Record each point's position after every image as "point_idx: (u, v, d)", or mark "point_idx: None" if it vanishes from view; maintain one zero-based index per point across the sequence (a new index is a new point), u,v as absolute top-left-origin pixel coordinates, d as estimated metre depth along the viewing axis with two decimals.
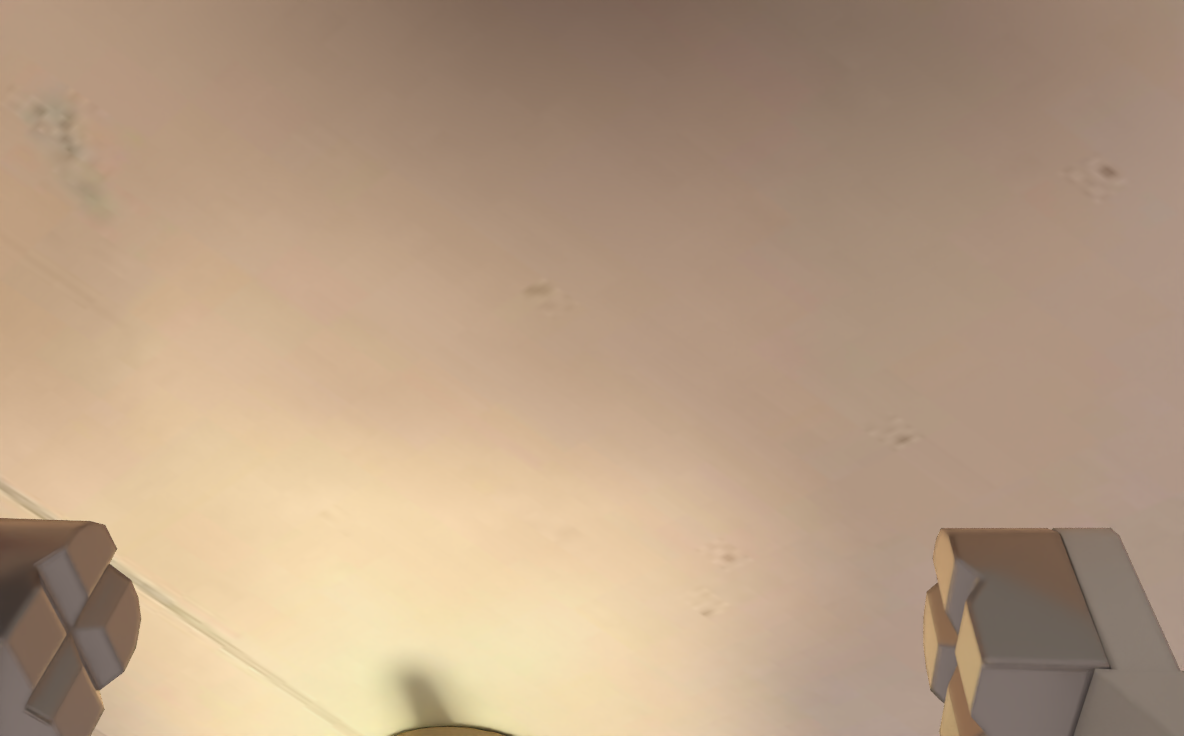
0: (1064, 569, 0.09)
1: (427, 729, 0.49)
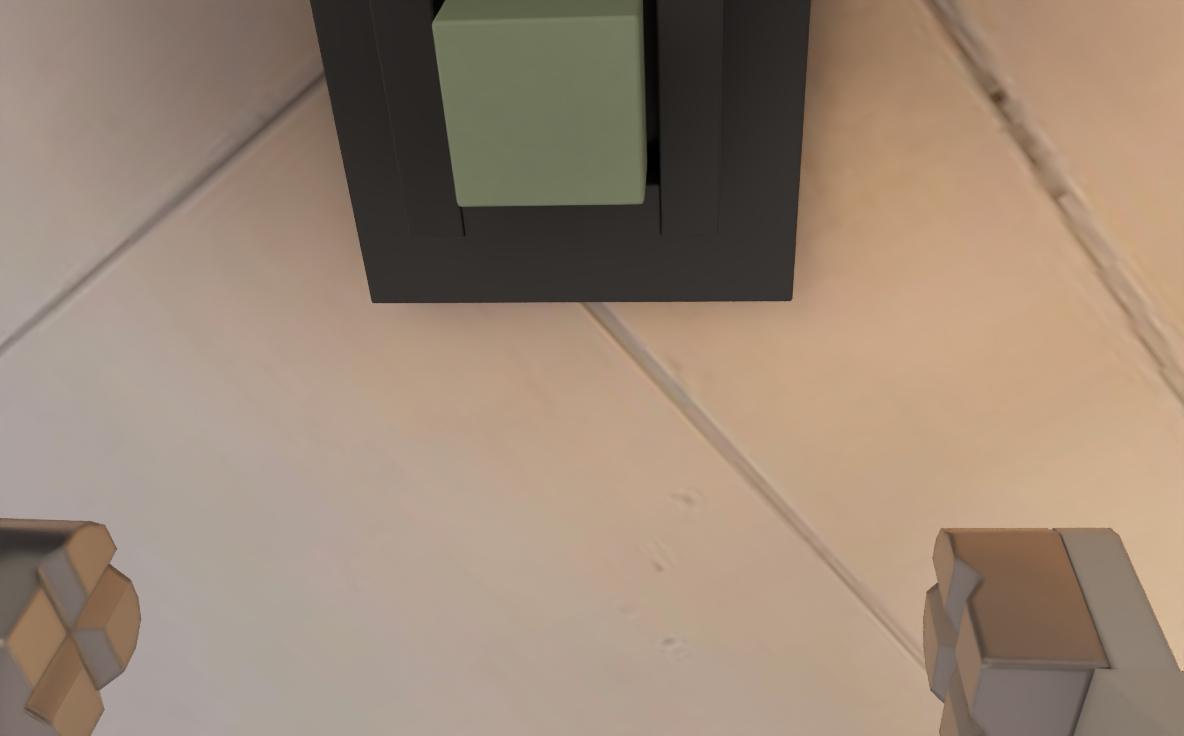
0: (1064, 569, 0.09)
1: None
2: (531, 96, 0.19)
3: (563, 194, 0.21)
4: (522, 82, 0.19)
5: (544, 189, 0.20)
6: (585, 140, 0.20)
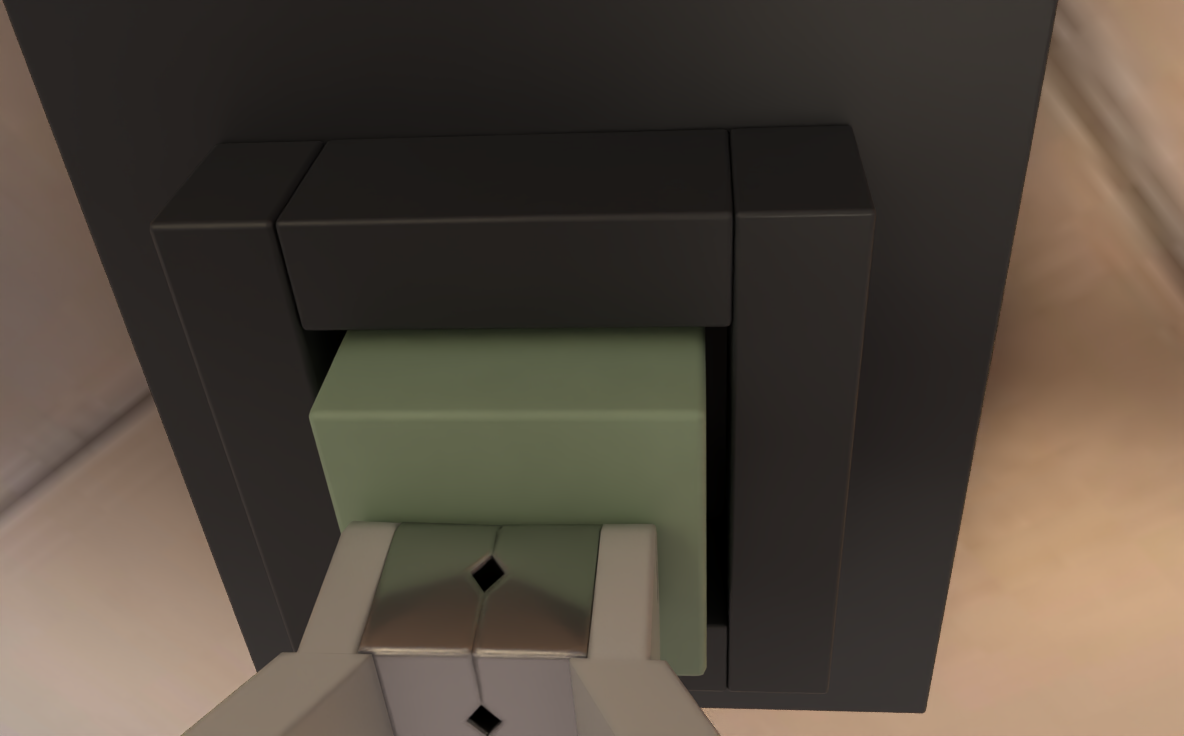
0: (588, 563, 0.09)
1: None
2: None
3: None
4: (484, 507, 0.10)
5: None
6: None
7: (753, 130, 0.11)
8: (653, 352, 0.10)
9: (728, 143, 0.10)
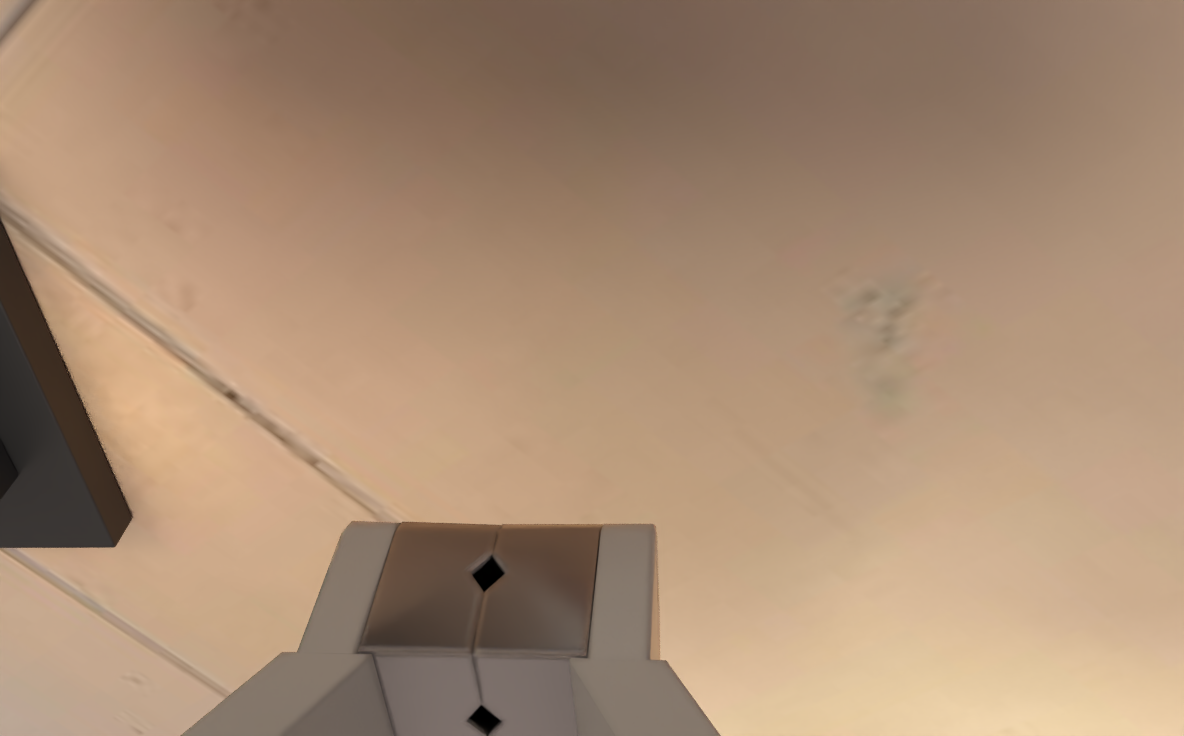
0: (588, 563, 0.09)
1: None
2: None
3: None
4: None
5: None
6: None
7: None
8: None
9: None
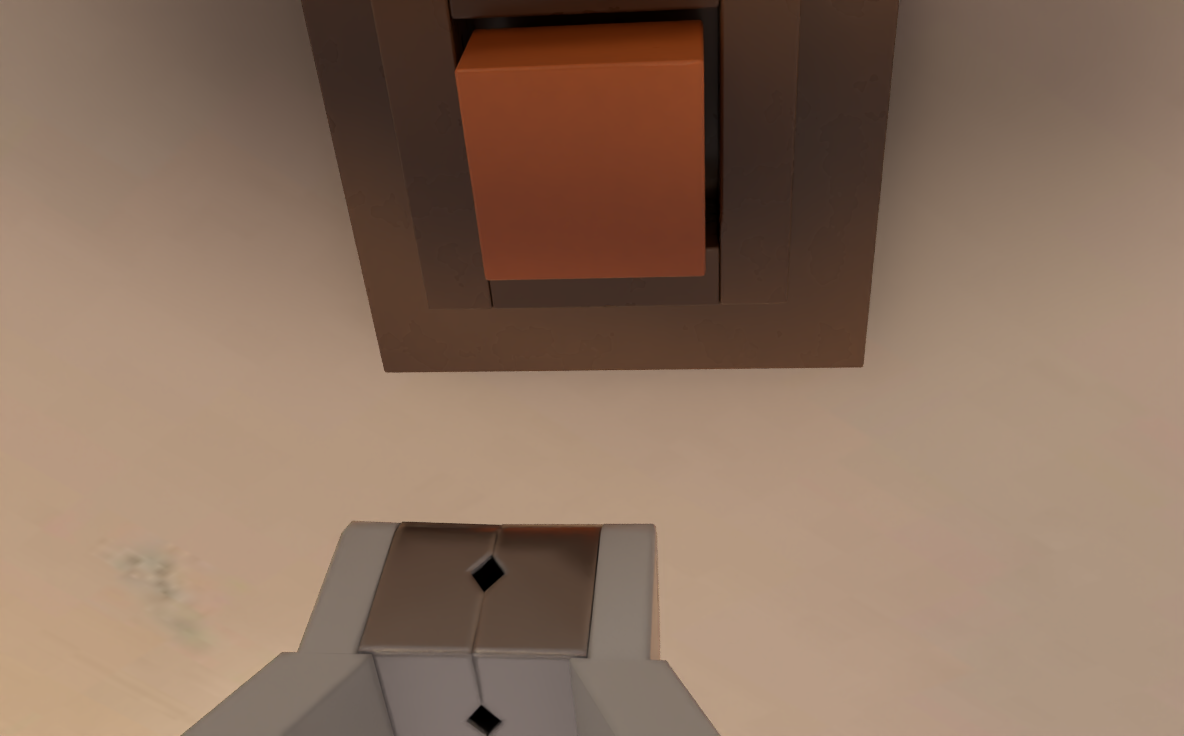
0: (588, 563, 0.09)
1: None
2: None
3: None
4: None
5: None
6: None
7: None
8: None
9: None
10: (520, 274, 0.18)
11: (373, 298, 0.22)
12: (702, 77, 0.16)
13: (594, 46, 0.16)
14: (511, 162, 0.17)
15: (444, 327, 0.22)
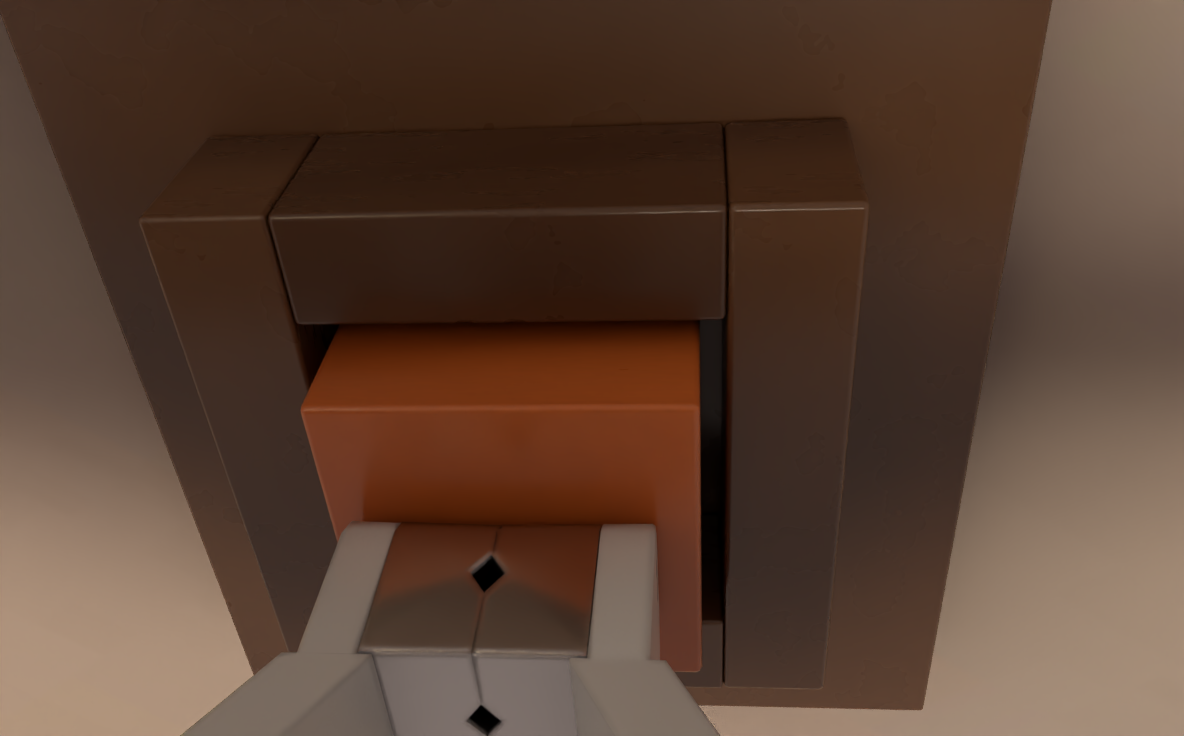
0: (587, 563, 0.09)
1: None
2: None
3: None
4: None
5: None
6: None
7: None
8: None
9: None
10: None
11: (236, 613, 0.16)
12: (698, 430, 0.10)
13: (527, 359, 0.10)
14: None
15: None
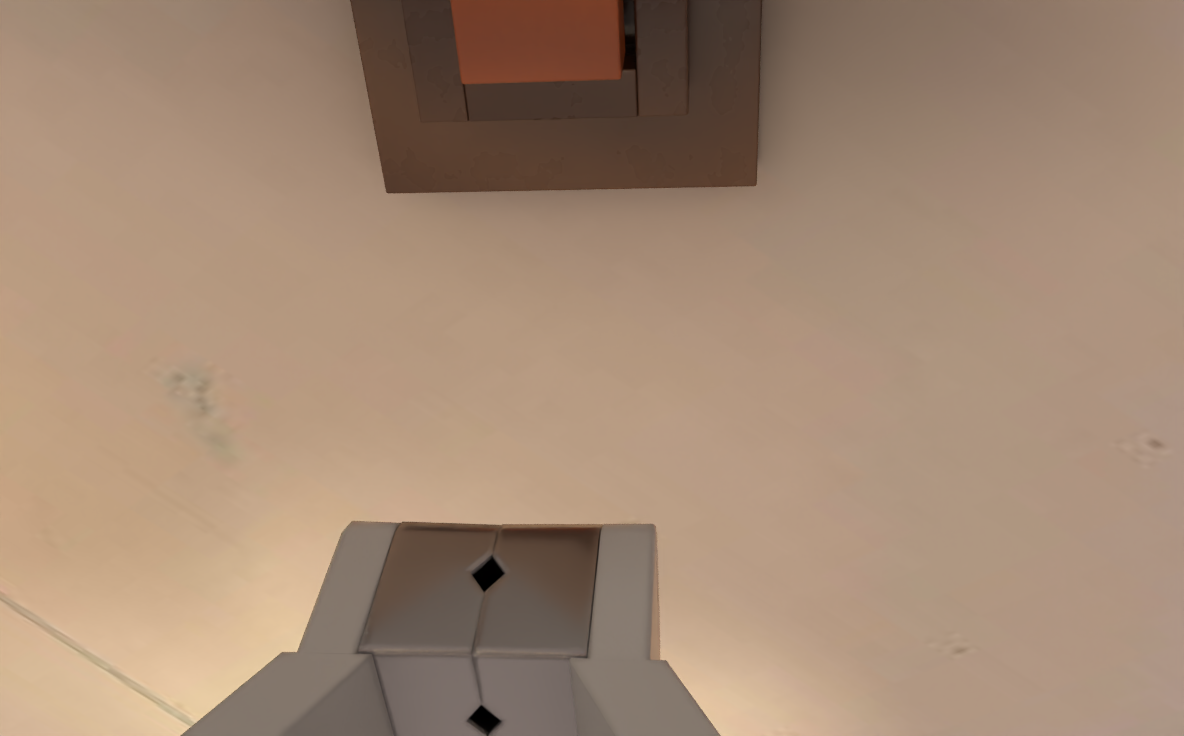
0: (587, 563, 0.09)
1: None
2: None
3: None
4: None
5: None
6: None
7: None
8: None
9: None
10: (486, 78, 0.24)
11: (378, 128, 0.29)
12: None
13: None
14: None
15: (433, 153, 0.29)
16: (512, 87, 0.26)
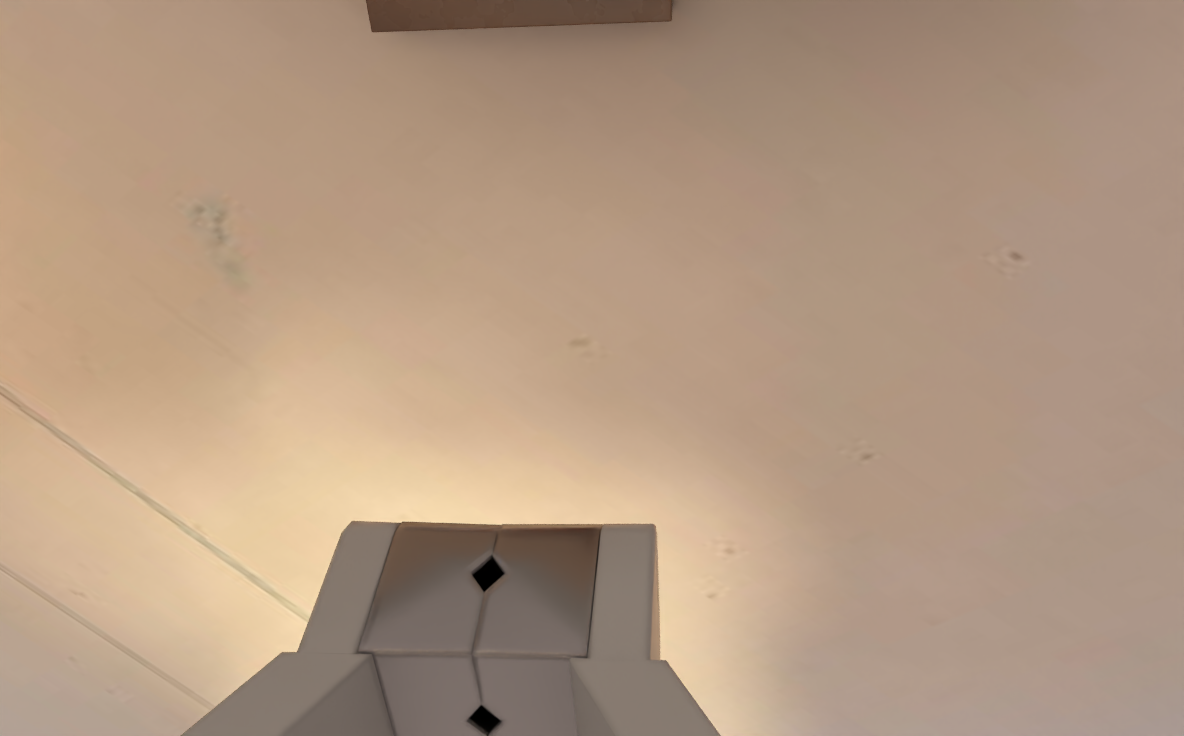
0: (588, 563, 0.09)
1: None
2: None
3: None
4: None
5: None
6: None
7: None
8: None
9: None
10: None
11: None
12: None
13: None
14: None
15: None
16: None
